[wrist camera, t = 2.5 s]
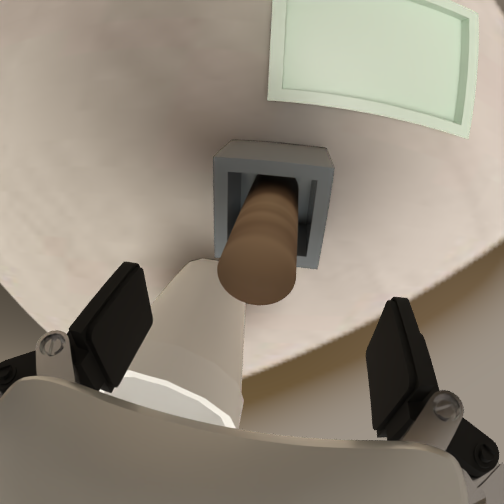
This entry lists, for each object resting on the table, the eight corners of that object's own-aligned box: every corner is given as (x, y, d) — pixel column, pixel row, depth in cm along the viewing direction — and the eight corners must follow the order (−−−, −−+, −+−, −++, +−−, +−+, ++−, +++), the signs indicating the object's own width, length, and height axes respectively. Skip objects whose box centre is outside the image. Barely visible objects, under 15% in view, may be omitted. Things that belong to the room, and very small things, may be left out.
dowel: (253, 165, 20) (216, 236, 11) (300, 169, 20) (300, 245, 11) (251, 207, 22) (218, 299, 13) (296, 212, 21) (290, 309, 13)
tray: (269, 98, 18) (267, 100, 16) (276, -28, 13) (274, -37, 11) (456, 134, 16) (468, 139, 15) (466, 16, 11) (478, 13, 10)
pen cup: (232, 139, 20) (213, 156, 15) (326, 148, 19) (334, 168, 15) (231, 222, 23) (214, 257, 19) (314, 231, 22) (317, 269, 18)
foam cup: (167, 314, 30) (116, 422, 19) (157, 236, 25) (74, 351, 14) (259, 331, 29) (235, 454, 18) (269, 252, 24) (240, 396, 13)
